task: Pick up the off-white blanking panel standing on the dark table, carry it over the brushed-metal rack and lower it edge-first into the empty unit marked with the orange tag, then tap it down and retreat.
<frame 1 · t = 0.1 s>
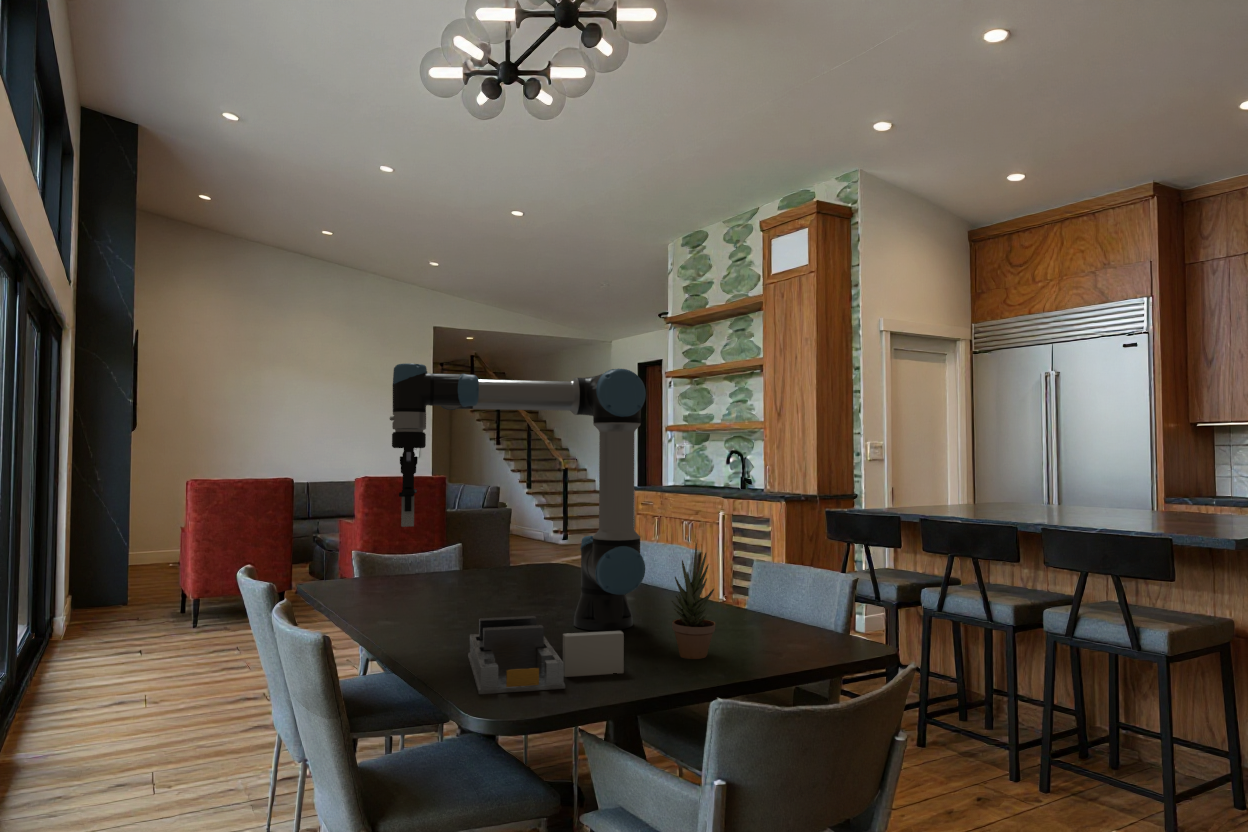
hand: (407, 524, 190), 28 cm above the table, fingers open, 13 cm apart
rack: (513, 671, 169), on the table
potted plant: (693, 656, 182), on the table
panel: (593, 673, 168), on the table
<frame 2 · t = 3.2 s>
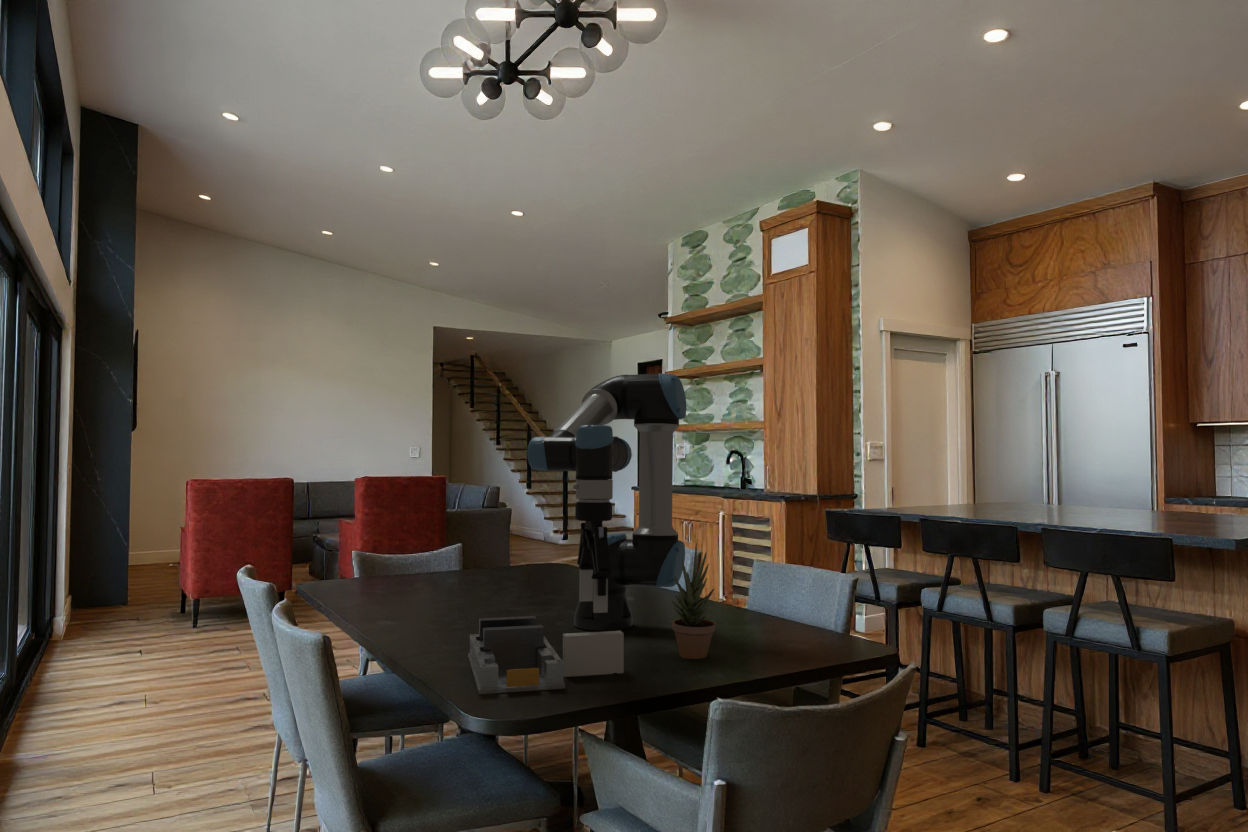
hand: (592, 606, 168), 13 cm above the table, fingers open, 13 cm apart
nothing on the table moved.
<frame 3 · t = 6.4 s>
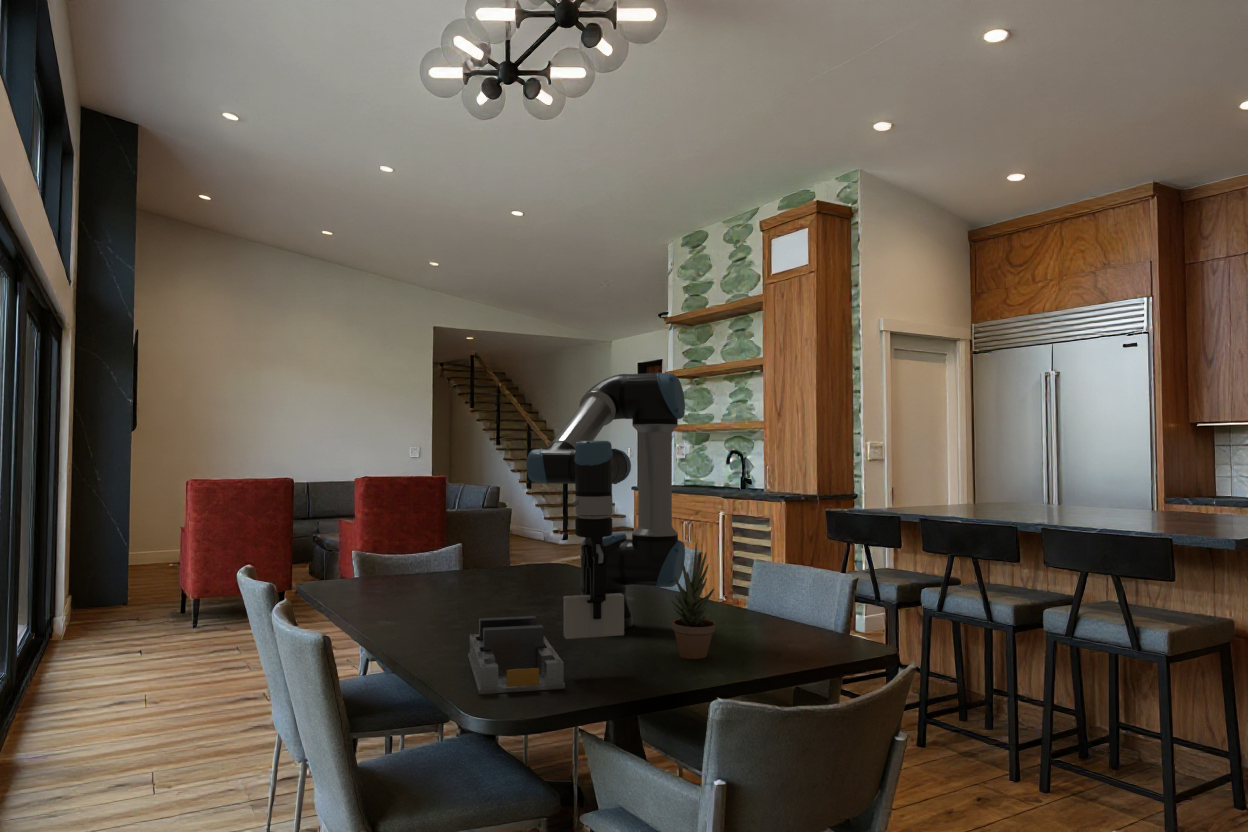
hand: (594, 632, 168), 8 cm above the table, fingers closed on panel, 3 cm apart
panel: (593, 635, 168), point 7 cm above the table, touching gripper
everything else where it was.
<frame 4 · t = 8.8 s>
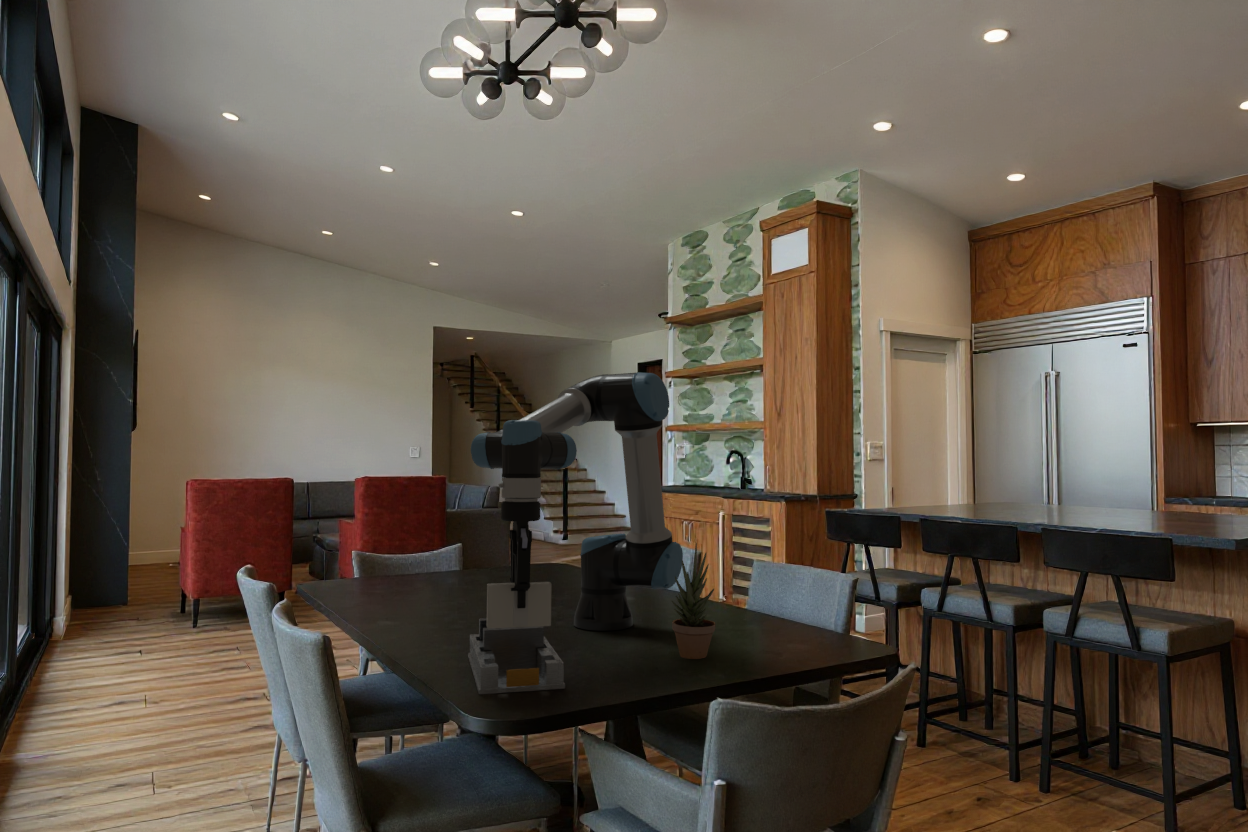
hand: (519, 623, 159), 12 cm above the table, fingers closed on panel, 3 cm apart
panel: (518, 625, 159), point 11 cm above the table, touching gripper
everything else where it was.
when the fingers open (1 cm above the table, at t = 11.3 s): panel stays where it is, resting on rack.
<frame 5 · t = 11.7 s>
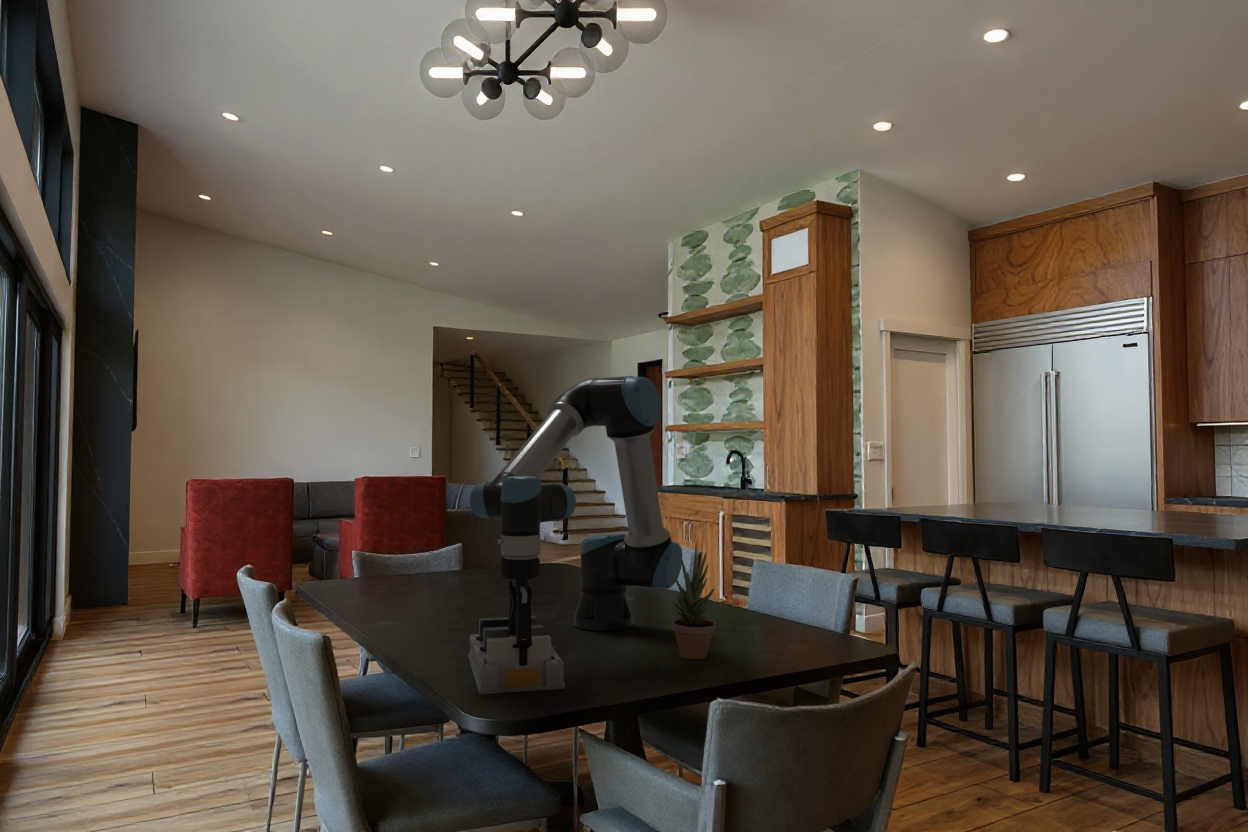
hand: (519, 675, 160), 2 cm above the table, fingers open, 8 cm apart
panel: (518, 680, 159), point 1 cm above the table, touching rack
everything else where it was.
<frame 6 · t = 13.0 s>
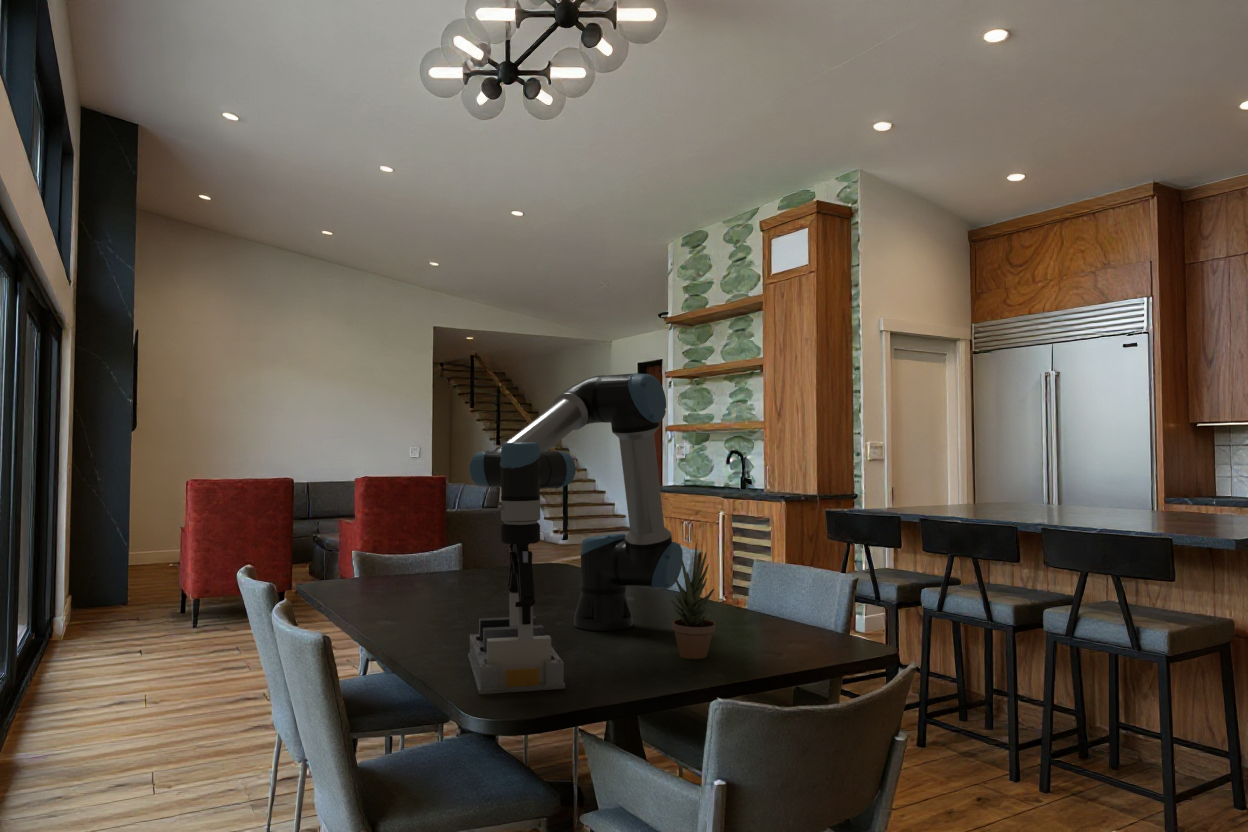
hand: (520, 633, 160), 10 cm above the table, fingers open, 13 cm apart
nothing on the table moved.
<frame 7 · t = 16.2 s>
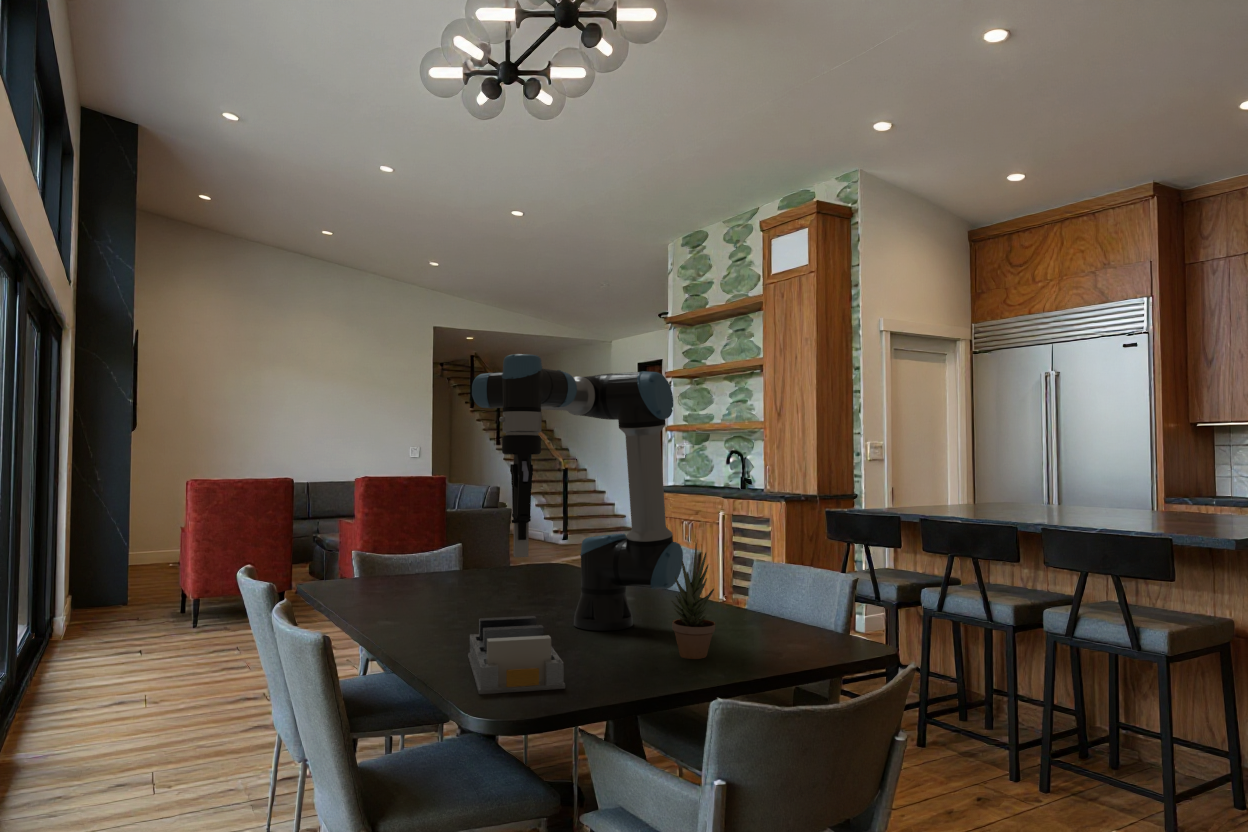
hand: (520, 556, 160), 24 cm above the table, fingers closed
nothing on the table moved.
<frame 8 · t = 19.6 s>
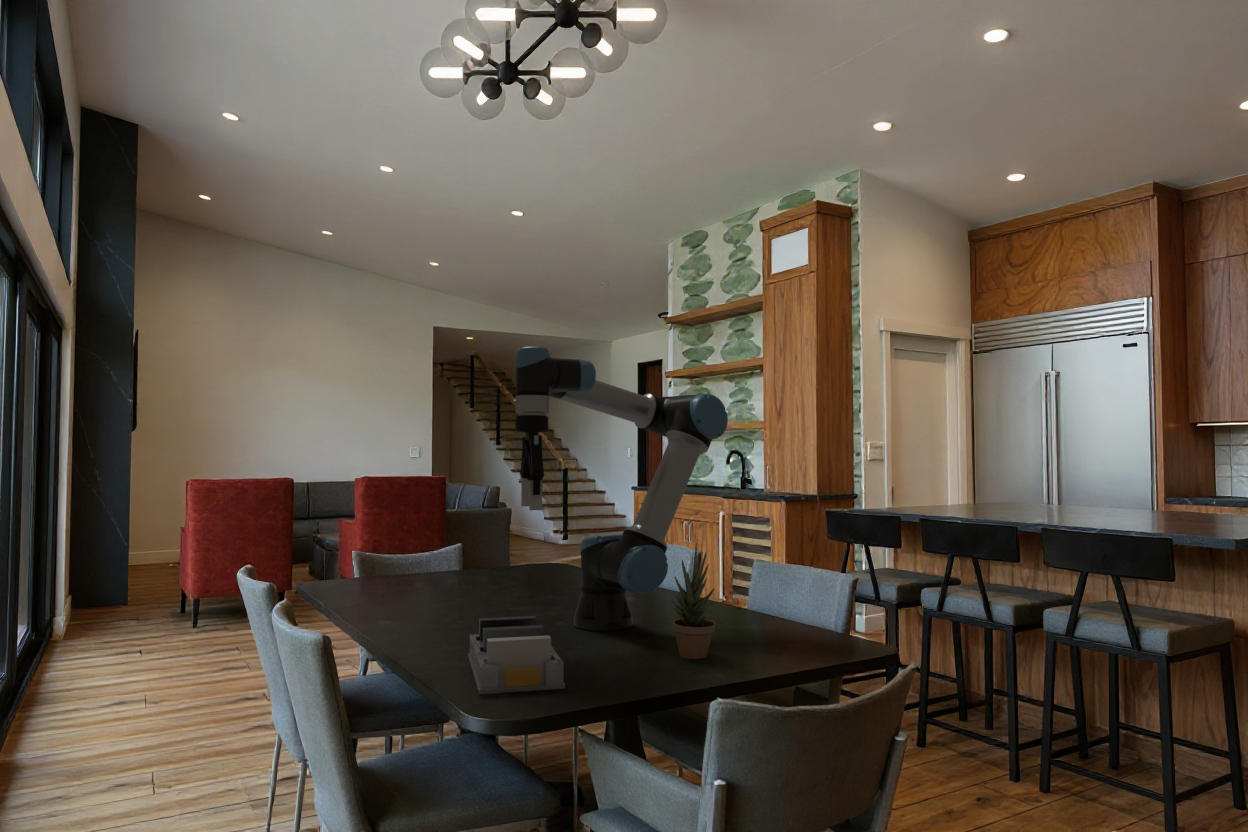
hand: (531, 508, 189), 32 cm above the table, fingers open, 13 cm apart
nothing on the table moved.
at the end: panel 0.1 cm from the target spot on the rack, point 0.8 cm above the rack's base; panel tilted 0°; the gripper is holding nothing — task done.
